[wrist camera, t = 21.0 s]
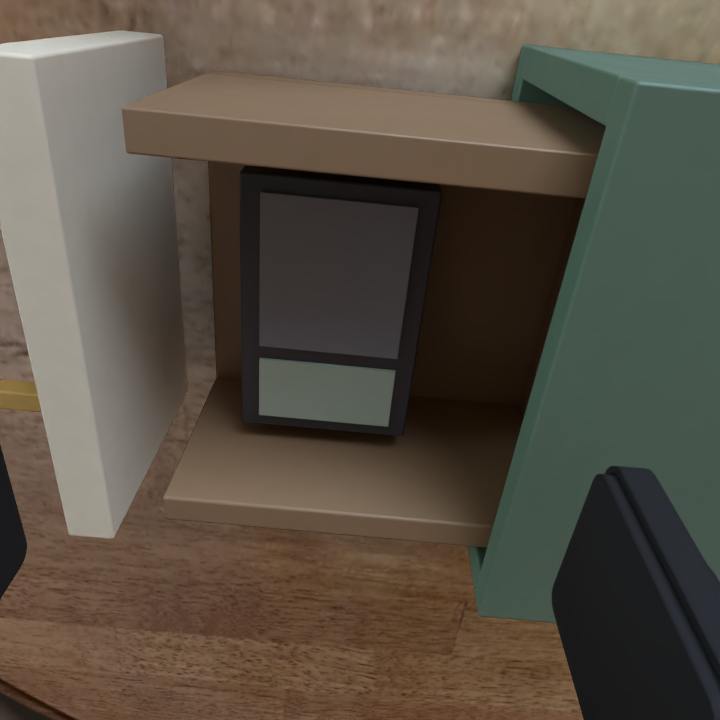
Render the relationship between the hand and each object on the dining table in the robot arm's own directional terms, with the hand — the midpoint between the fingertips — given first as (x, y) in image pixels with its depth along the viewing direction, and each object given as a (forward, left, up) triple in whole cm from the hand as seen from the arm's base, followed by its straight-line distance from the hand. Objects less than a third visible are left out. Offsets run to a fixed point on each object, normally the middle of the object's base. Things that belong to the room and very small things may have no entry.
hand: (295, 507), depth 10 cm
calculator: (0, 0, -10) cm, 10 cm away
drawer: (-2, 0, -11) cm, 11 cm away
